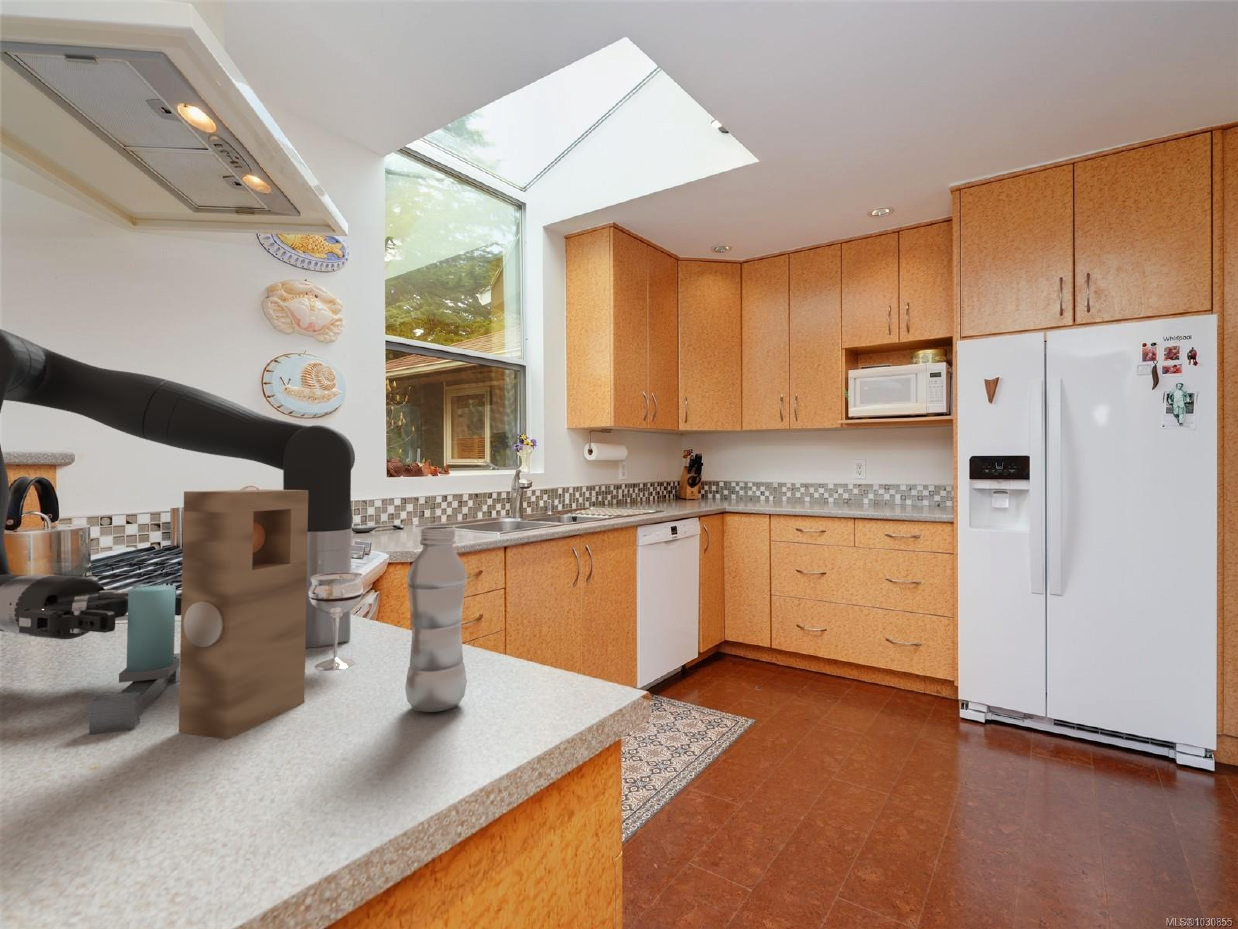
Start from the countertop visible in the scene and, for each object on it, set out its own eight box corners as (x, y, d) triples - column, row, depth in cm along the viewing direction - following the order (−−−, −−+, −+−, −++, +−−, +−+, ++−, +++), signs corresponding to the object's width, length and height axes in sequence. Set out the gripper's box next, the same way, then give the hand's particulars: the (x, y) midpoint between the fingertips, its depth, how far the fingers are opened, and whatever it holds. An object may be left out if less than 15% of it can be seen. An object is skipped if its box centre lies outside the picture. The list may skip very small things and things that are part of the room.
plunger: (186, 552, 65) (187, 522, 65) (213, 548, 68) (213, 519, 68) (239, 554, 63) (240, 523, 63) (264, 551, 66) (265, 521, 66)
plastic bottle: (477, 701, 69) (480, 526, 70) (442, 724, 63) (445, 531, 63) (430, 694, 71) (433, 524, 72) (391, 715, 65) (394, 529, 65)
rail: (179, 678, 76) (180, 653, 76) (134, 729, 61) (135, 697, 61) (144, 682, 74) (144, 656, 74) (89, 734, 59) (90, 702, 60)
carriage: (179, 666, 74) (181, 584, 74) (168, 677, 70) (170, 590, 70) (133, 670, 72) (135, 586, 72) (118, 682, 68) (120, 593, 68)
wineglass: (334, 654, 86) (336, 570, 87) (372, 660, 84) (374, 573, 84) (295, 669, 80) (296, 578, 80) (335, 675, 78) (336, 581, 78)
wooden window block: (174, 734, 60) (180, 491, 60) (260, 697, 70) (264, 489, 70) (223, 741, 58) (229, 492, 59) (304, 702, 68) (308, 490, 69)
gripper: (-23, 585, 68) (85, 593, 64) (110, 567, 82) (206, 572, 78) (-25, 652, 68) (83, 664, 64) (109, 622, 82) (205, 631, 78)
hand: (150, 613), depth 71 cm, fingers open, 8 cm apart
